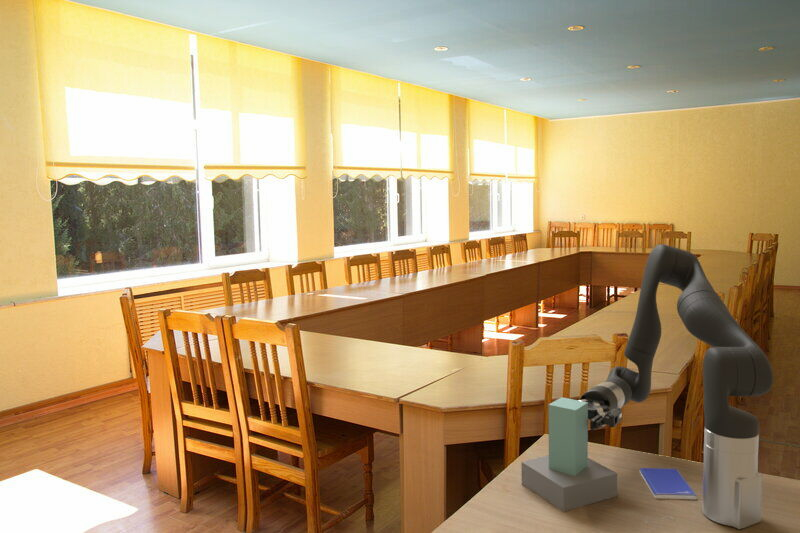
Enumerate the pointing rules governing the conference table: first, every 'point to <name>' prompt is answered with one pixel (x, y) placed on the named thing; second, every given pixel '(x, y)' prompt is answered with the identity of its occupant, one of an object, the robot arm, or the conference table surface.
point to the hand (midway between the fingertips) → (572, 421)
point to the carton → (568, 436)
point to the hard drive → (667, 483)
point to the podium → (569, 483)
